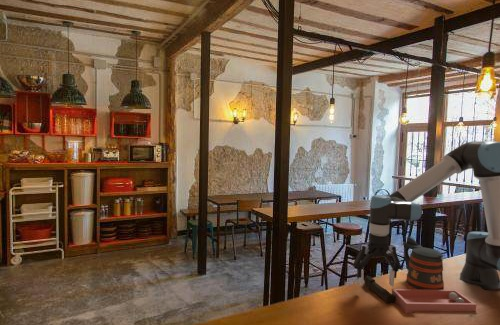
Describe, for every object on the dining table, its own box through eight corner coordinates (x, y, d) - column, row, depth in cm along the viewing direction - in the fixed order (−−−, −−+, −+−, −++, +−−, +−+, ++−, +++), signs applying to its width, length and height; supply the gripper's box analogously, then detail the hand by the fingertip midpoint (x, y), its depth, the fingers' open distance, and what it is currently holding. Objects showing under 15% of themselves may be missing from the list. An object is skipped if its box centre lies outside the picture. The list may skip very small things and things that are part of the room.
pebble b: (460, 303, 129) (461, 296, 129) (466, 307, 126) (466, 299, 126) (453, 303, 129) (453, 296, 129) (458, 307, 126) (458, 299, 126)
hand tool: (396, 304, 130) (396, 293, 129) (386, 305, 129) (387, 293, 129) (370, 283, 148) (370, 273, 148) (362, 284, 148) (362, 274, 147)
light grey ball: (454, 298, 133) (455, 290, 133) (459, 302, 130) (460, 294, 130) (446, 298, 133) (447, 290, 133) (451, 302, 130) (452, 294, 130)
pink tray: (455, 298, 136) (455, 289, 135) (475, 313, 124) (476, 304, 123) (391, 297, 135) (391, 289, 135) (405, 312, 123) (406, 303, 123)
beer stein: (389, 280, 151) (392, 237, 150) (412, 275, 157) (415, 234, 156) (427, 299, 134) (430, 250, 133) (451, 293, 140) (454, 246, 139)
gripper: (403, 231, 141) (401, 281, 142) (346, 230, 140) (344, 280, 142) (412, 236, 133) (409, 289, 135) (352, 235, 133) (349, 288, 134)
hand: (376, 285), depth 138 cm, fingers open, 12 cm apart
